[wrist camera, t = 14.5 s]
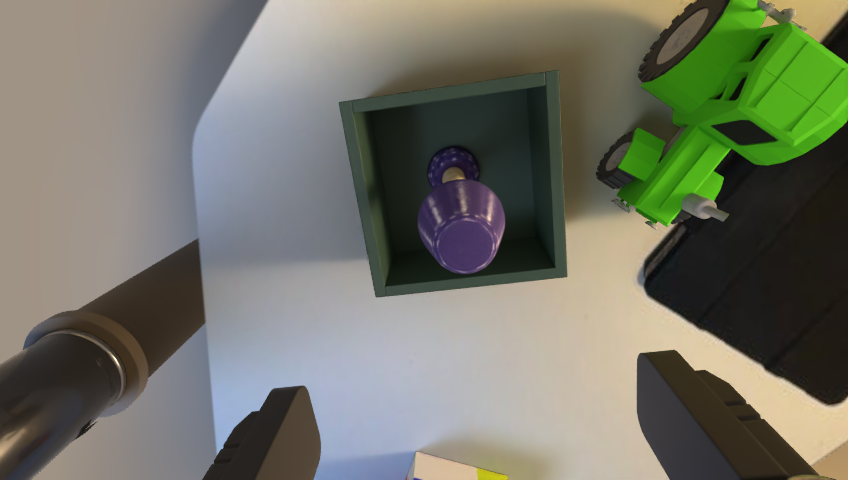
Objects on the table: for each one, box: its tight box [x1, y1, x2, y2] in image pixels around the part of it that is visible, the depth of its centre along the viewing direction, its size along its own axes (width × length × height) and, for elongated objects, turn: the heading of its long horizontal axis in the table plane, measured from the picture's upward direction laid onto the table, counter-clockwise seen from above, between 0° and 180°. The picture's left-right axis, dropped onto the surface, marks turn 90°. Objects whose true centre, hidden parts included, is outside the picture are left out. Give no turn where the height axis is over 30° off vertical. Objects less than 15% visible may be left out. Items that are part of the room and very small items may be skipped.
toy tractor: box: [596, 0, 848, 230], centre depth 30 cm, size 11×16×10 cm
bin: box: [339, 70, 567, 297], centre depth 33 cm, size 14×14×8 cm
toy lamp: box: [418, 146, 505, 274], centre depth 28 cm, size 5×5×17 cm
